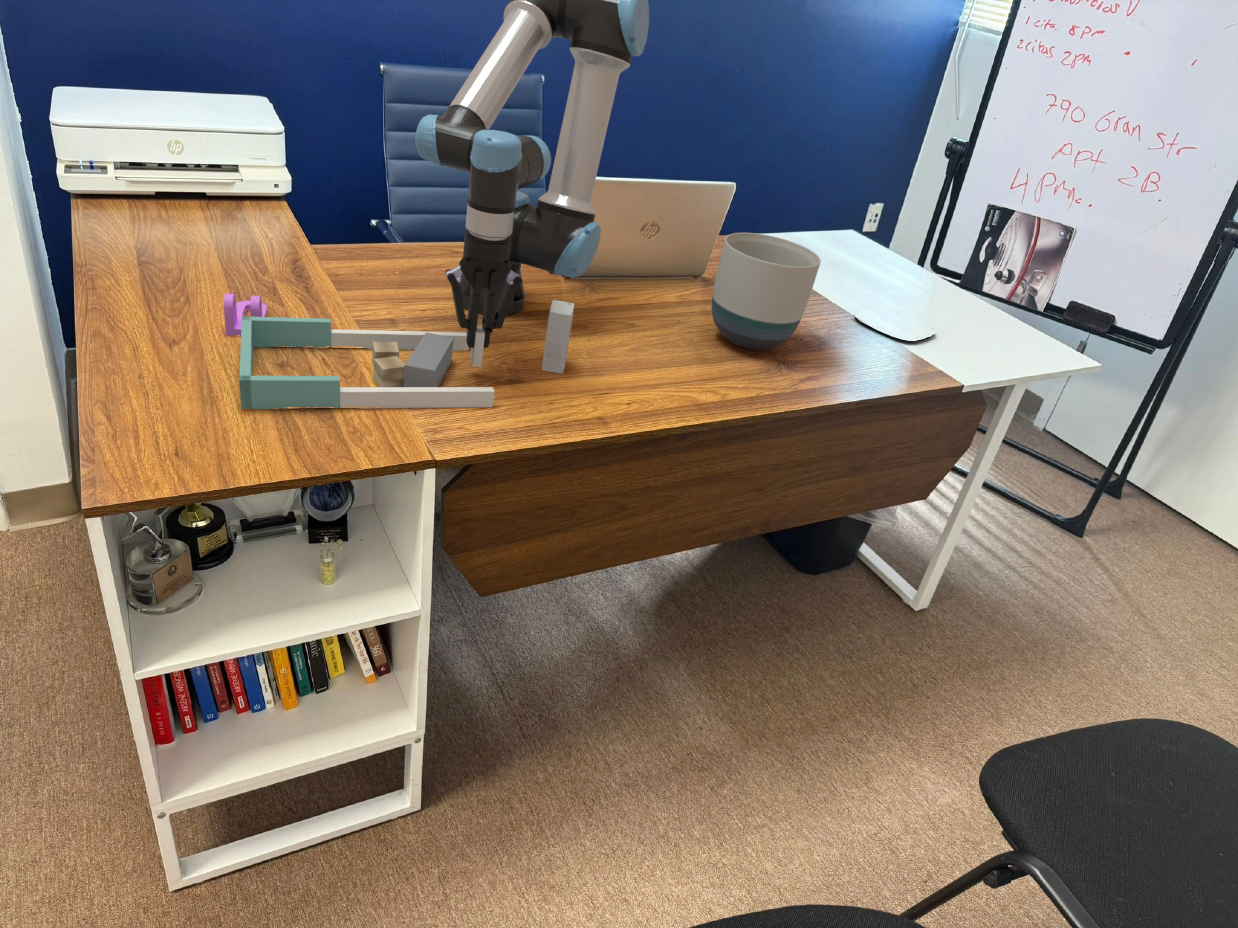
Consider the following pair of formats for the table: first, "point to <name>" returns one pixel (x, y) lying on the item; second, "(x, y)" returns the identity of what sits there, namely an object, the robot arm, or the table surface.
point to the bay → (285, 388)
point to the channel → (407, 395)
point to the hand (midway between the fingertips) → (475, 363)
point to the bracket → (241, 312)
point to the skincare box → (557, 336)
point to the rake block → (429, 361)
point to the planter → (761, 289)
